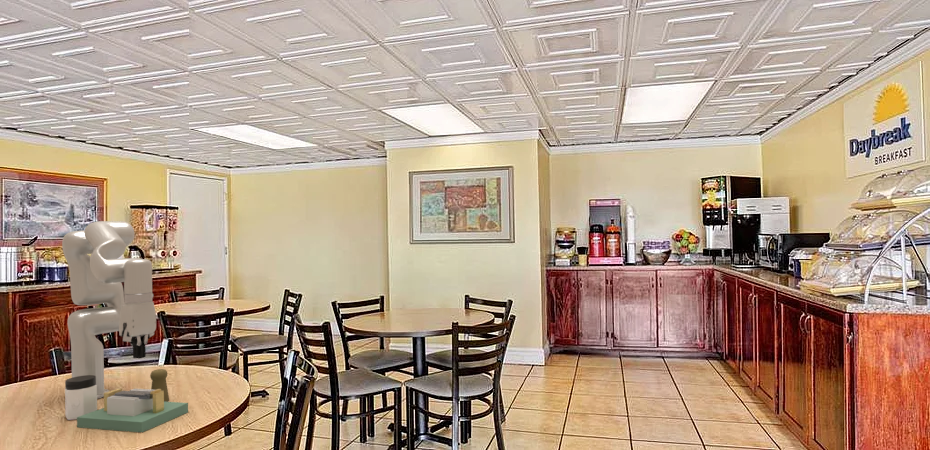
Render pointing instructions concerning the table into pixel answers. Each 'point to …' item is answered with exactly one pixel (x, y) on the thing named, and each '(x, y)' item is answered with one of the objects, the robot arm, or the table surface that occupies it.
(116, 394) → the strap
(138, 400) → the board
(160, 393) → the lug
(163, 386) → the cork
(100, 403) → the table surface
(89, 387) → the jar
